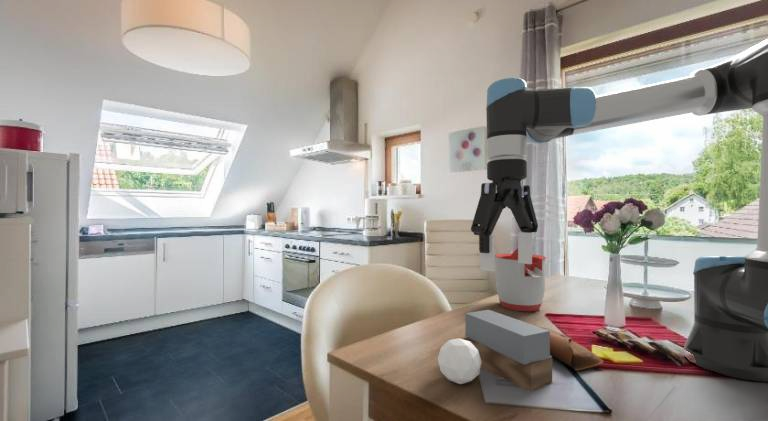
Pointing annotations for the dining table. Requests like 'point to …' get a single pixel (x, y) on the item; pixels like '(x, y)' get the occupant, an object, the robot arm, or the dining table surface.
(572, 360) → the sunglasses case
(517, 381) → the tower base block
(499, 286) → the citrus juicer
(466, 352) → the geometric ball
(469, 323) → the tower top block
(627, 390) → the dining table surface
